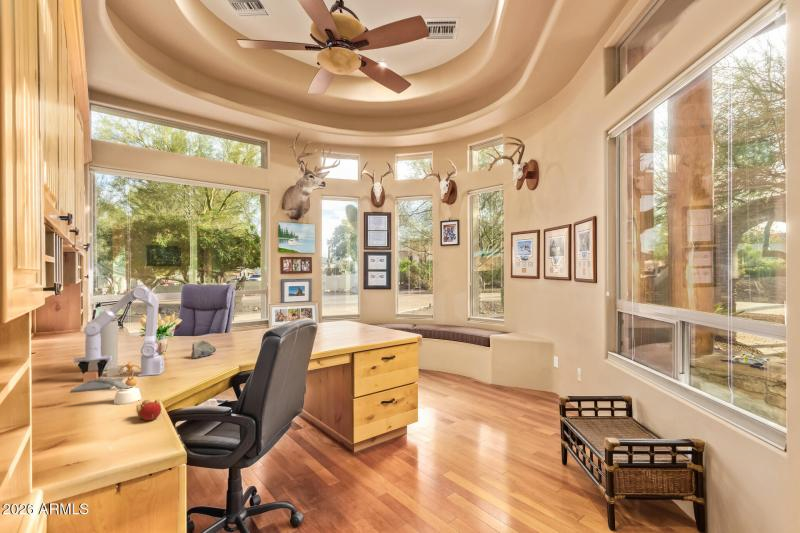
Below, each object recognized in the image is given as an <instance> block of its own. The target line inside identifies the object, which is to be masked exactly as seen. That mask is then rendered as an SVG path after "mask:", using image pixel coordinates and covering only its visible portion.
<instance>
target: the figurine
mask: <svg viewBox="0 0 800 533" xmlns="http://www.w3.org/2000/svg"><path fill="white" fill-rule="evenodd" d="M133 367H137V369H139V370H140V372H141V371H142V370H141V366H139V365H137V364H133V363H132V361H131V360H129V361H128V363H127V364H124V366H123V367H121V368H120V370H119V373H120V371H121V369H122V368H124V369H125V368H127V369H126V374H127V380H126V381H125V383H124V384H126V385H127V386H134V387H136V385H137V380H136V379H135V378H134V374H135V370H134V369H133ZM130 373H131V378H130Z"/></svg>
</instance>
